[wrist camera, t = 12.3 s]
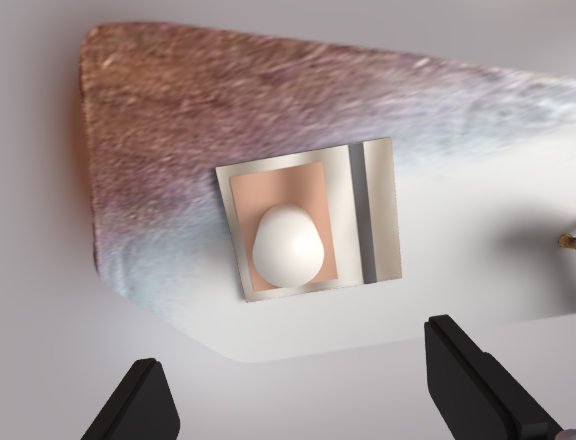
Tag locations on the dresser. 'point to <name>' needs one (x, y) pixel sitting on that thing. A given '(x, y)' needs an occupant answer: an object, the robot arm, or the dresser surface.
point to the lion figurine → (568, 241)
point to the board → (320, 212)
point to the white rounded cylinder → (287, 246)
